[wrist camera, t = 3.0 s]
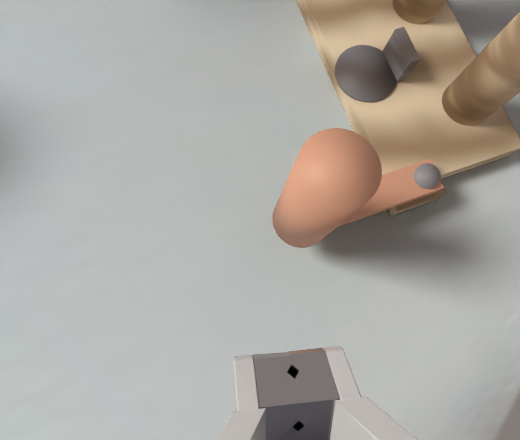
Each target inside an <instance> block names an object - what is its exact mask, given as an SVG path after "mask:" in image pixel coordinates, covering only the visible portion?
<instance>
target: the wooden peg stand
mask: <svg viewBox="0 0 520 440" xmlns="http://www.w3.org/2000/svg"><path fill="white" fill-rule="evenodd" d="M296 1H297V3H298V6H299V8H300V10H301V13H302V15H303V17H304V19H305V22H306V24H307V26H308V28H309V31H310V33H311V35H312V38H313V40H314V42H315V44H316V47H317V49H318V51H319V53H320V56H321V58H322V60H323V62H324V65H325V67H326V69H327V72H328V74H329V76H330V78H331V81H332V83H333V85H334V87H335V90H336V92H337V94H338V97H339V99H340V101H341V103H342V106H343V108H344V110H345V112H346V115H347V117H348V119H349V122H350V124H351V126H352V128H353V131H354V132H355V133H357V134H359V135H361V136H362V137H364V138H365V139H366V140H367V141H368V142H369V143H370V144H371V145H372V146H373V147H374V149H375V150H376V152H377V154H378V156H379V159H380V162H381V166H382V175H383V174H386V173H389V172H392V171H395V170H398V169H401V168H404V167H407V166H410V165H413V164H416V163H419V162H422V161H425V160H428V159H431V161H432V163H433V165H435V166H436V167H437V168H438V169H439V171H440V174H441V178H440V179H443V178H446V177H449V176H452V175H455V174H457V173H460V172H463V171H466V170H469V169H472V168H475V167H478V166H481V165H484V164H487V163H489V162H492V161H495V160H498V159H501V158H504V157H507V156H509V155H511V154H512V153H514V152H516V151H517V150H519V149H520V138H519V136H518V135H517V133H516V131H515V129H514V127H513V125H512V123H511V121H510V119H509V118H508V116H507V114H506V112H505V110H504V108H503V105H504V104H505V103H507V102H508V101H509V100H511V99H512V98H513V97H515V96H516V95H517V94H518V93H520V12H519V13H518V14H517V15H516V16H515V17H514V18H513V19H512V20H511V21H510V22H509V23H508V24H507V25H506V26H505V27H504V29H503V30H502V31H501V32H500V33H499V34H498V35H497V36H496V37H495V38H494V39H493V40H492V41H491V42H490V43H489V44H488V45H487V46H486V47H485V48H484V49H483V50H482V52H481V53H480V54H479V55H478V56H477V57H476V55H475V53H474V51H473V50H472V48H471V46H470V44H469V42H468V40H467V38H466V36H465V34H464V33H463V31H462V29H461V27H460V25H459V23H458V21H457V19H456V17H455V16H454V14H453V12H452V10H451V8H450V6H449V4H448V2H447V0H296ZM445 194H447V193H446V190H445V188H443V189H441V190H439V191H438V192H436V193H433V194H430V195H428V196H425V197H422V198H419V199H416V200H413V201H410V202H408V203H405V204H402V205H399V206H396V207H393V208H390V209H388V210H389V212H390V215H391V216H392V215H395V214H398V213H400V212H403V211H406V210H409V209H412V208H415V207H417V206H420V205H423V204H426V203H429V202H432V201H434V200H436V199H438V198H440V197H441V196H443V195H445Z"/></svg>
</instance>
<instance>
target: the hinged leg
mask: <svg viewBox="0 0 520 440" xmlns="http://www.w3.org/2000/svg"><path fill="white" fill-rule="evenodd" d="M440 178H441V174H440V171H439V169H438V168H437V167H436V166H435V165H433V163H432V161H431V159H428V160H425V161H422V162H419V163H416V164H413V165H410V166H407V167H404V168H401V169H398V170H395V171H392V172H389V173H386V174H383V175H382V166H381V162H380V159H379V156H378V154H377V152H376V150H375V149H374V147H373V146H372V145H371V144H370V143H369V142H368V141H367V140H366V139H365V138H364V137H362V136H361V135H359V134H357V133H355V132H353V131H350V130H346V129H340V128H333V129H327V130H323V131H320V132H318V133H316V134H314V135H313V136H312V137H310V138H309V139H308V140H307V141H306V142H305V144H304V145H303V146H302V148H301V150H300V152H299V155H298V157H297V159H296V161H295V164H294V166H293V168H292V170H291V173H290V175H289V177H288V179H287V182H286V184H285V186H284V188H283V191H282V193H281V195H280V197H279V200H278V202H277V204H276V206H275V209H274V212H273V226H274V229H275V231H276V233H277V235H278V236H279V237H280V238H281V239H282V240H283V241H284V242H285V243H287V244H289V245H291V246H294V247H299V248H305V247H310V246H313V245H315V244H317V243H318V242H319V241H321V240H322V239H323V238H324V237H325V236H327V235H328V234H329V233H330V232H331V231H333V230H334V229H335V228H336V227H339V226H342V225H345V224H347V223H350V222H353V221H356V220H359V219H362V218H365V217H367V216H370V215H373V214H376V213H379V212H382V211H385V210H387V209H390V208H393V207H396V206H399V205H402V204H405V203H408V202H410V201H413V200H416V199H419V198H422V197H425V196H428V195H430V194H433V193H436V192H438V191H439V190H441V189H443V188H444V186H443V184H442V182H441V180H440Z"/></svg>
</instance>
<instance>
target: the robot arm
mask: <svg viewBox="0 0 520 440" xmlns="http://www.w3.org/2000/svg"><path fill="white" fill-rule="evenodd" d="M234 376H235V394H236V410H237V411H233V412H231V414H230V416H229V418H228V419H227V421H226V423H225V425H224V426H223V428H222V430H221V432H220V433H219V435H218V437H217V439H216V440H417V439H416V438H415V437H414V436H413V435H412V434H410V433H409V432H408V431H407V430H406V429H404V428H403V427H402V426H401V425H400V424H398V423H397V422H396V421H395V420H394V419H392V418H391V417H390V416H389V415H388V414H387V413H385V412H384V411H383V410H382V409H381V408H379V407H378V406H377V405H376V404H375V403H373V402H372V401H371V400H370V399H369V398H367V397H361V395H360V392H359V389H358V387H357V384H356V382H355V379H354V376H353V374H352V371H351V368H350V366H349V363H348V360H347V358H346V355H345V353H344V350H343V348H342V347H341V346H339V347H329V348H323V349H322V348H316V349H307V350H298V351H289V352H284V353H270V354H256V355H245V356H234Z"/></svg>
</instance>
